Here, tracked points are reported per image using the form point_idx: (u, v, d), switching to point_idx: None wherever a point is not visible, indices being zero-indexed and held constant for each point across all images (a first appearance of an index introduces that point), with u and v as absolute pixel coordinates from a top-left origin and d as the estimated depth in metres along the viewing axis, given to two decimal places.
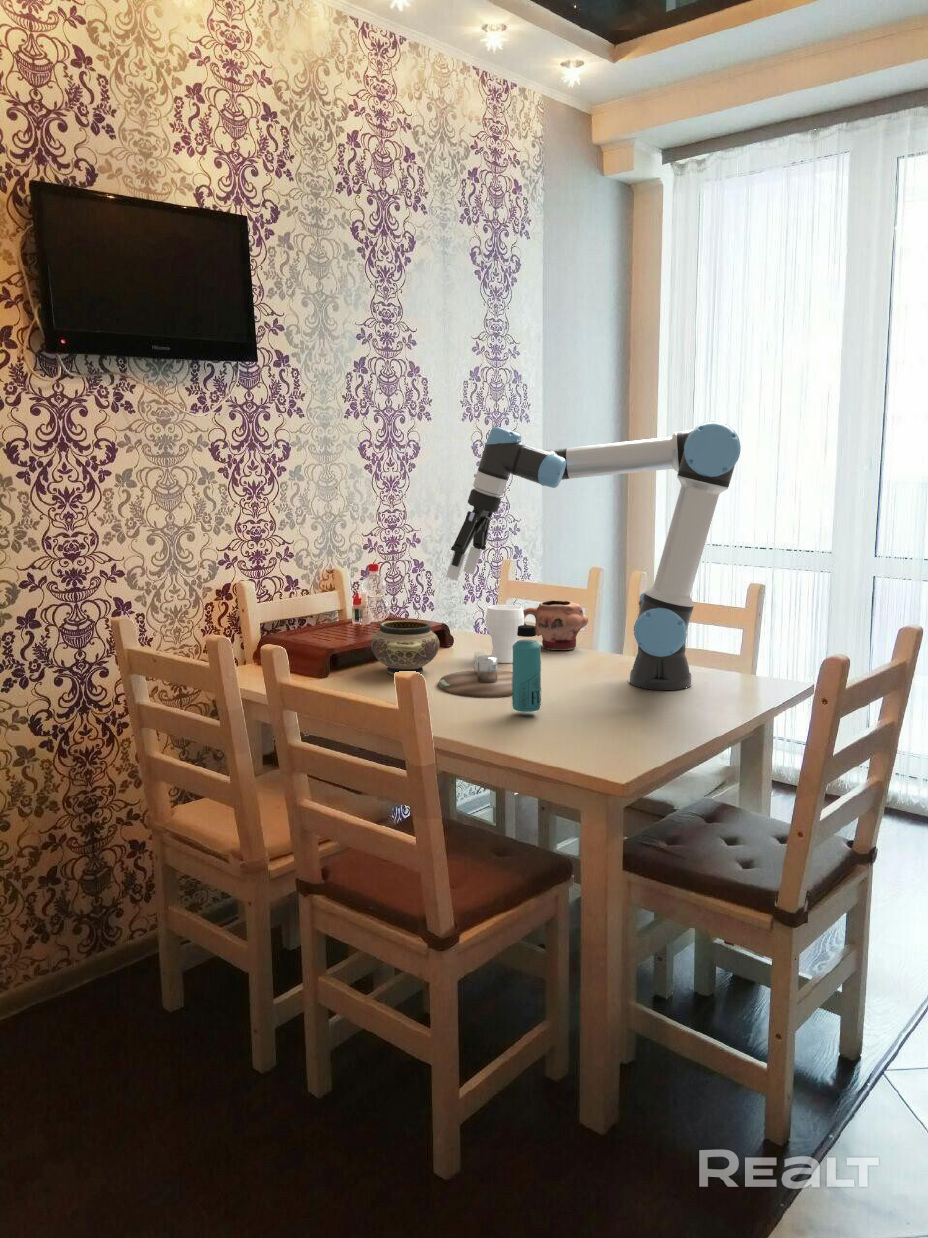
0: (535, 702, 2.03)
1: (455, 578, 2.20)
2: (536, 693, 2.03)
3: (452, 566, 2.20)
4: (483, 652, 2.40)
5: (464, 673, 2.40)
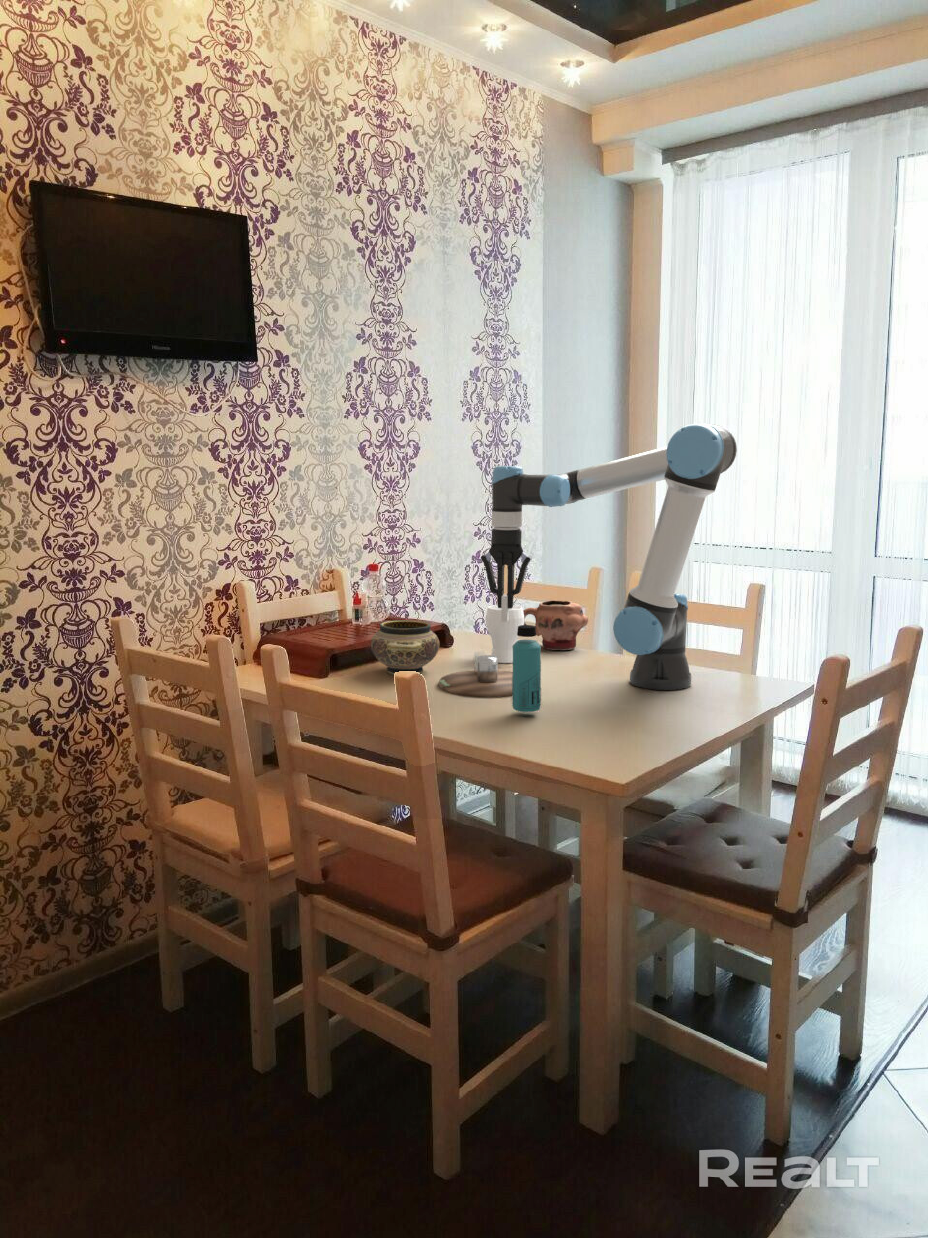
0: (535, 702, 2.03)
1: None
2: (536, 693, 2.03)
3: None
4: (483, 652, 2.40)
5: (464, 673, 2.40)
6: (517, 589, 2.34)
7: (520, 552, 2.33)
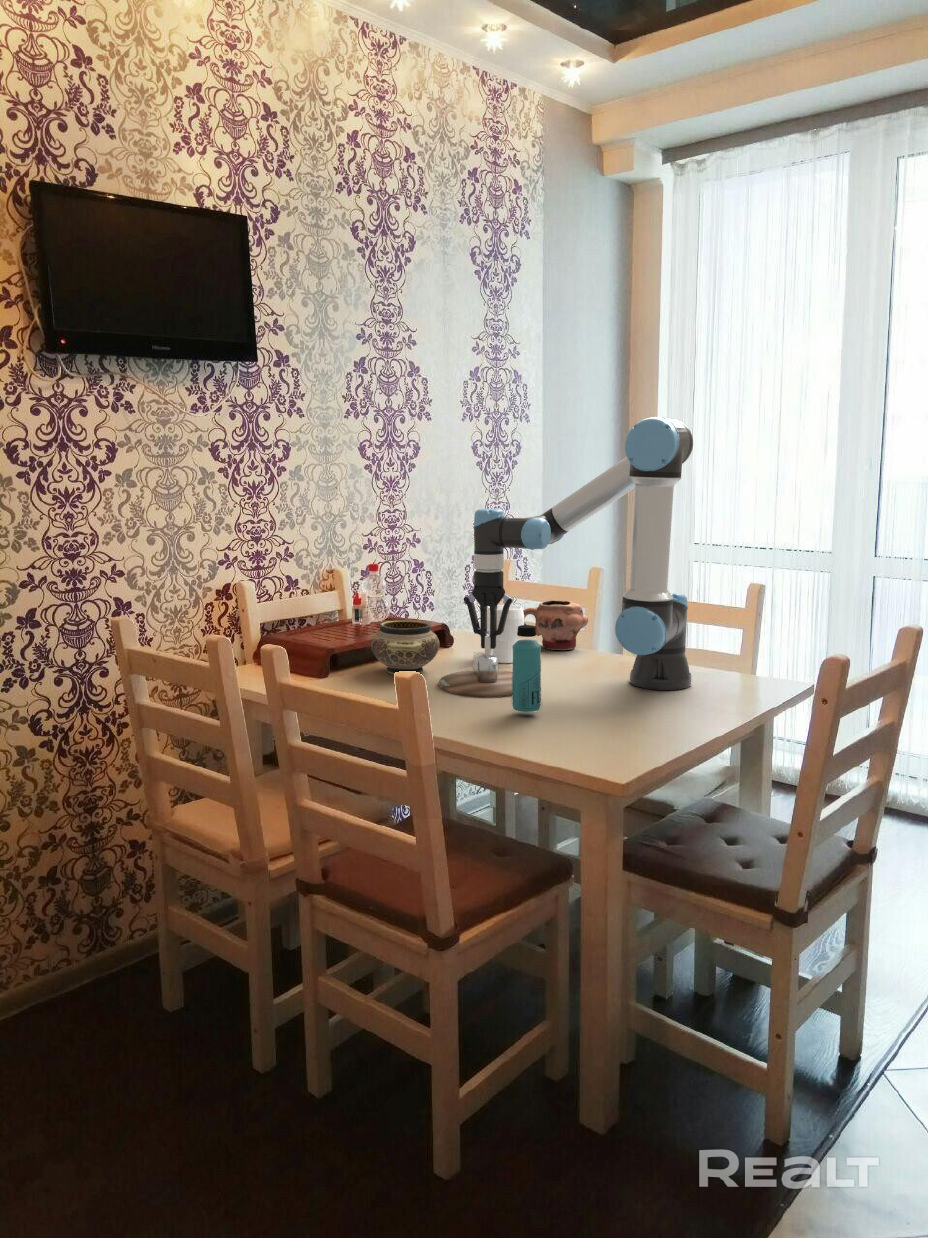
0: (535, 702, 2.03)
1: None
2: (536, 693, 2.03)
3: None
4: (482, 652, 2.40)
5: (464, 673, 2.40)
6: (499, 630, 2.37)
7: (502, 594, 2.36)
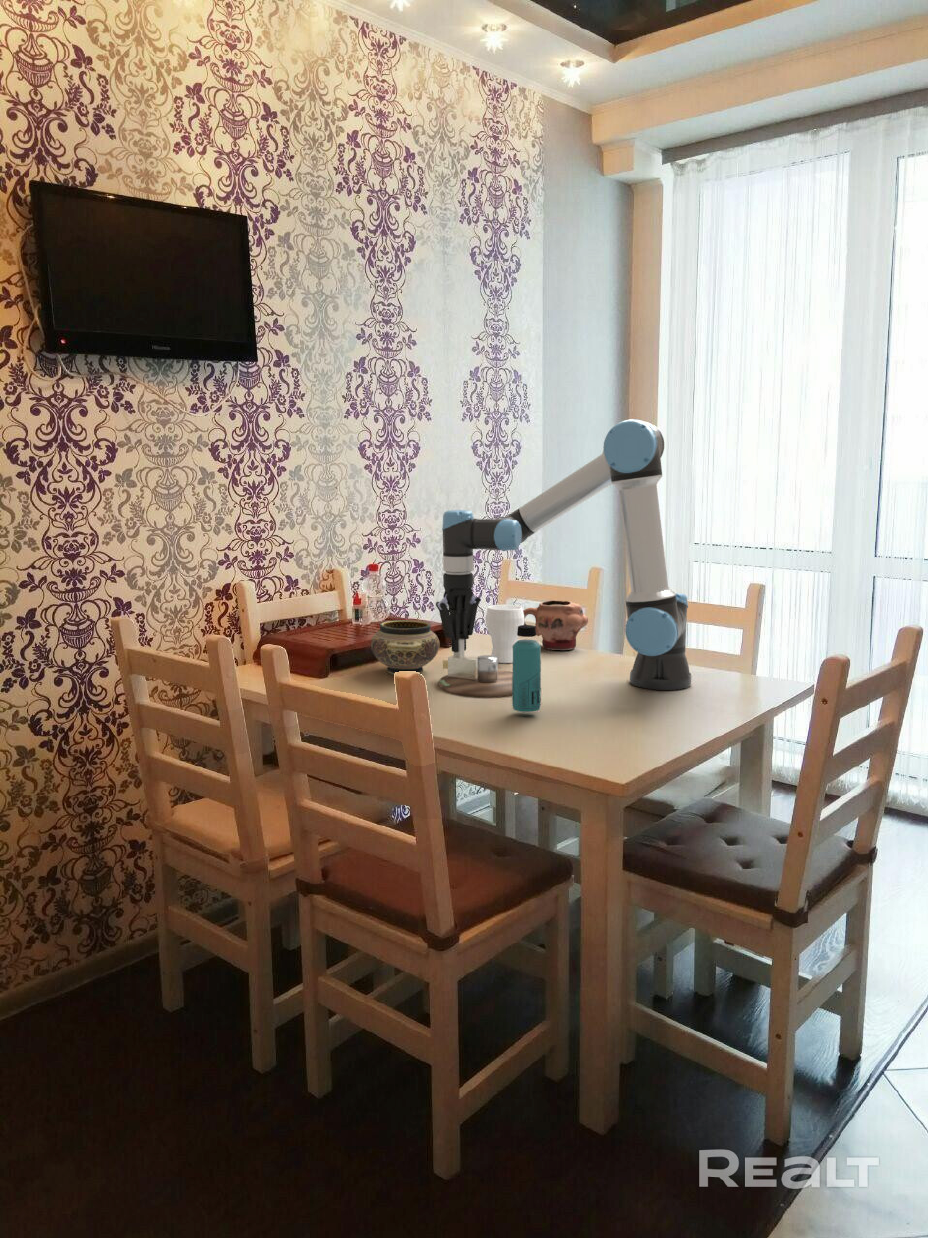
0: (535, 702, 2.03)
1: None
2: (536, 693, 2.03)
3: (455, 653, 2.37)
4: (455, 656, 2.36)
5: None
6: (471, 630, 2.37)
7: (472, 594, 2.36)
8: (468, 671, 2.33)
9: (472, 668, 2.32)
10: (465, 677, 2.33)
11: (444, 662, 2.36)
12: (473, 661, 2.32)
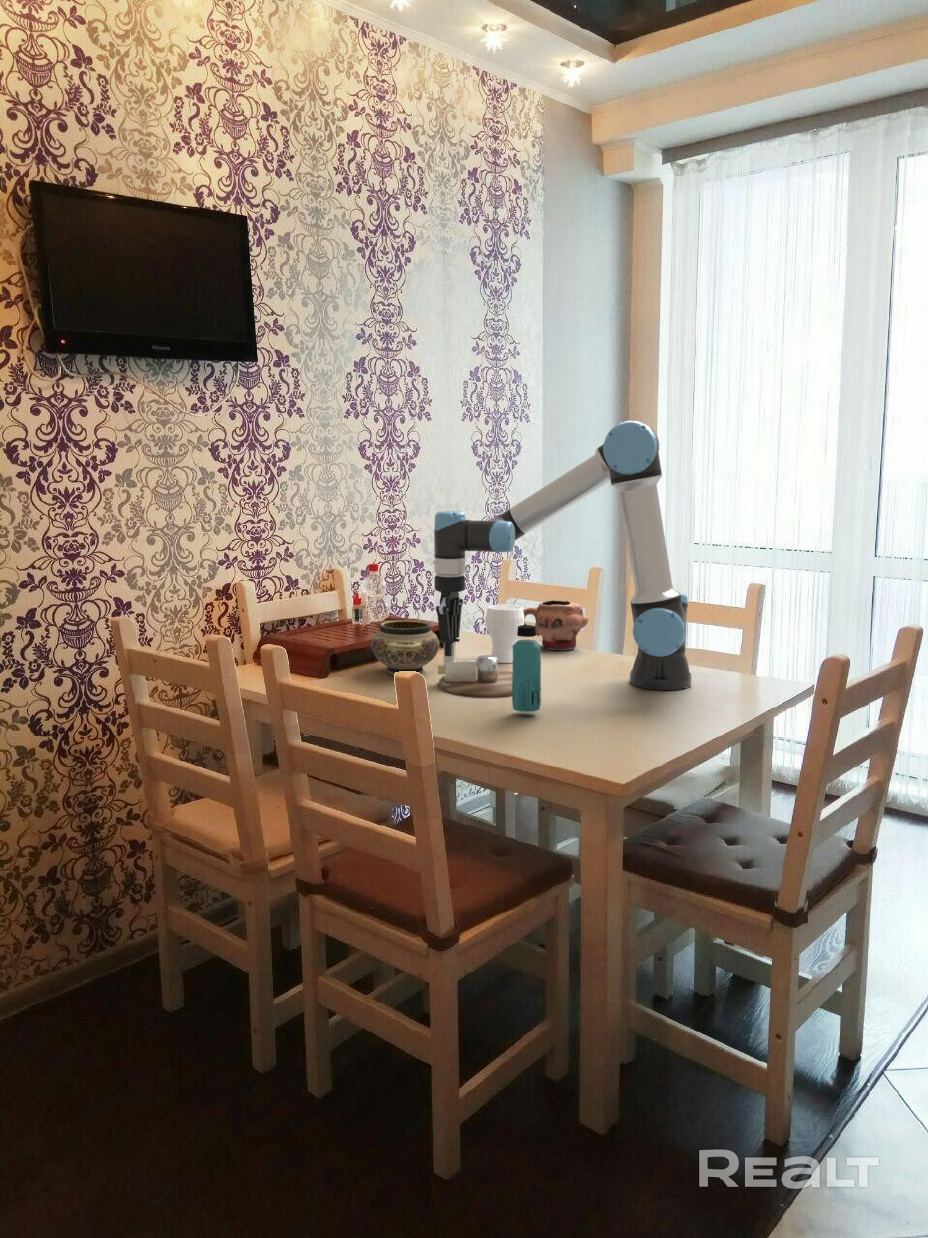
0: (535, 702, 2.03)
1: None
2: (536, 693, 2.03)
3: (446, 657, 2.32)
4: (449, 660, 2.32)
5: None
6: (458, 633, 2.34)
7: (458, 595, 2.33)
8: (469, 673, 2.30)
9: (473, 670, 2.30)
10: (465, 680, 2.30)
11: (439, 668, 2.30)
12: (474, 663, 2.30)
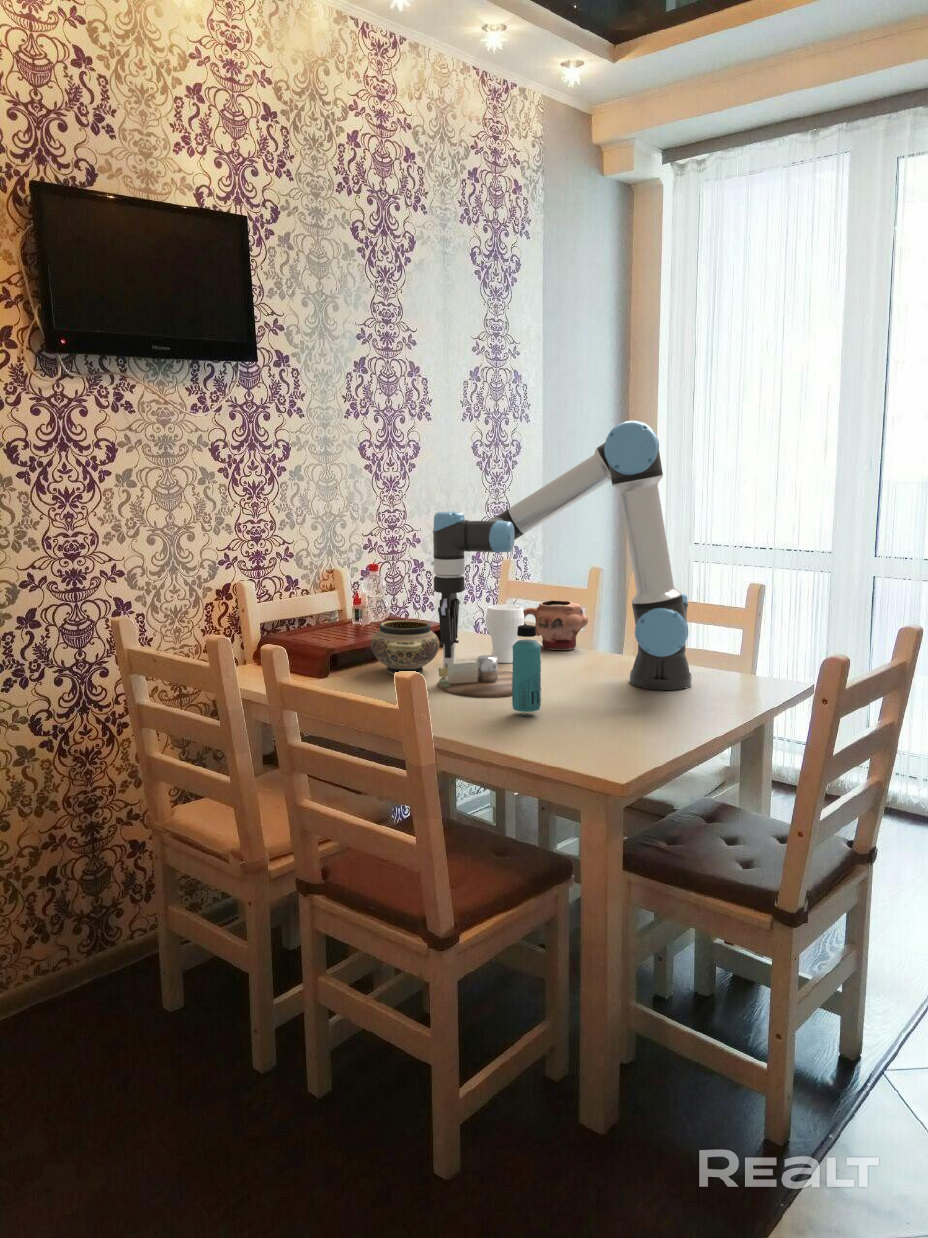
0: (535, 702, 2.03)
1: None
2: (536, 693, 2.03)
3: (446, 659, 2.30)
4: (449, 662, 2.30)
5: None
6: (456, 634, 2.33)
7: None
8: (470, 674, 2.29)
9: (474, 670, 2.29)
10: (467, 681, 2.29)
11: (441, 670, 2.28)
12: (476, 663, 2.29)
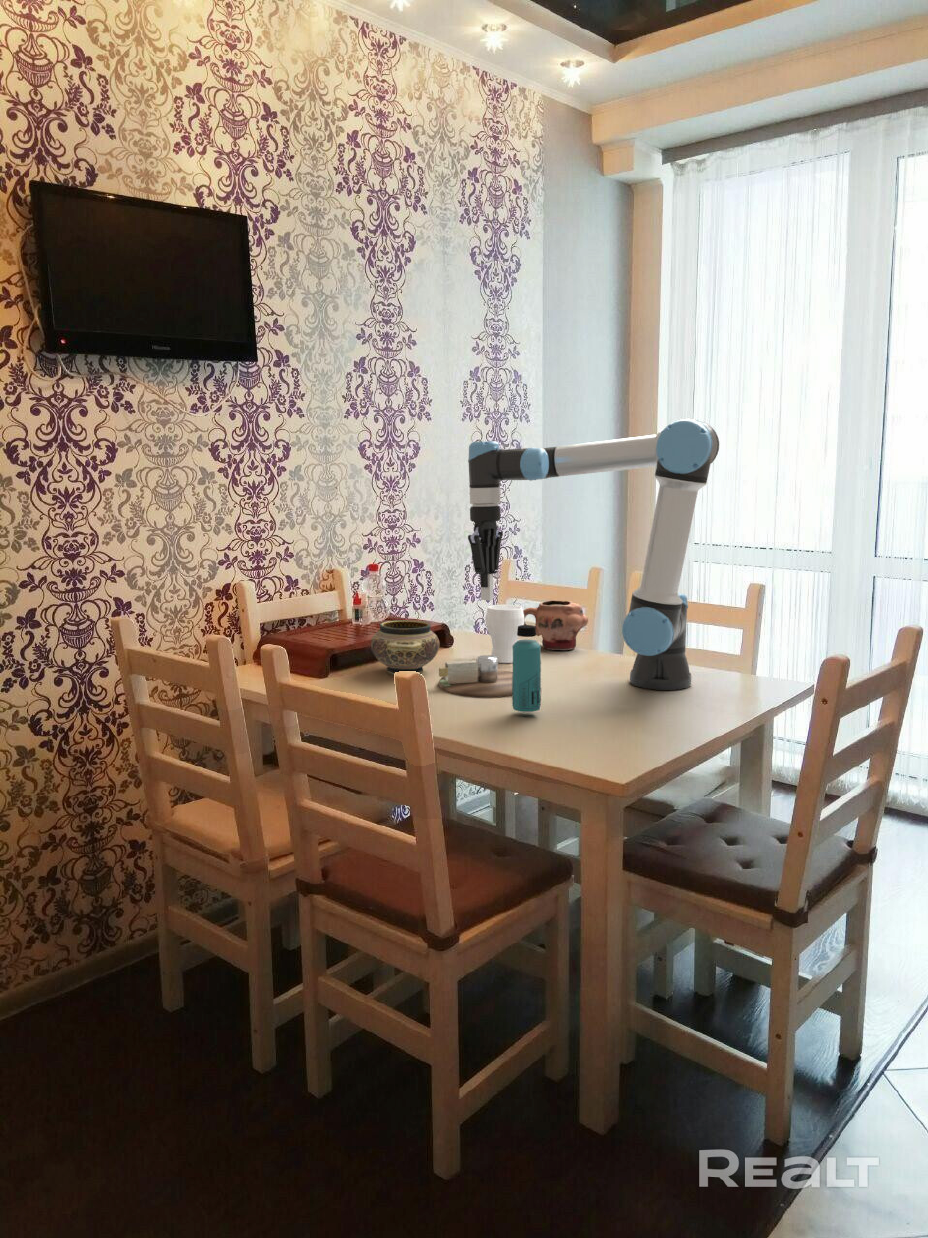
0: (535, 702, 2.03)
1: (488, 598, 2.33)
2: (536, 693, 2.03)
3: (483, 588, 2.33)
4: (449, 662, 2.30)
5: None
6: (497, 565, 2.34)
7: None
8: (470, 674, 2.29)
9: (474, 670, 2.29)
10: (467, 681, 2.29)
11: (441, 670, 2.28)
12: (476, 663, 2.29)
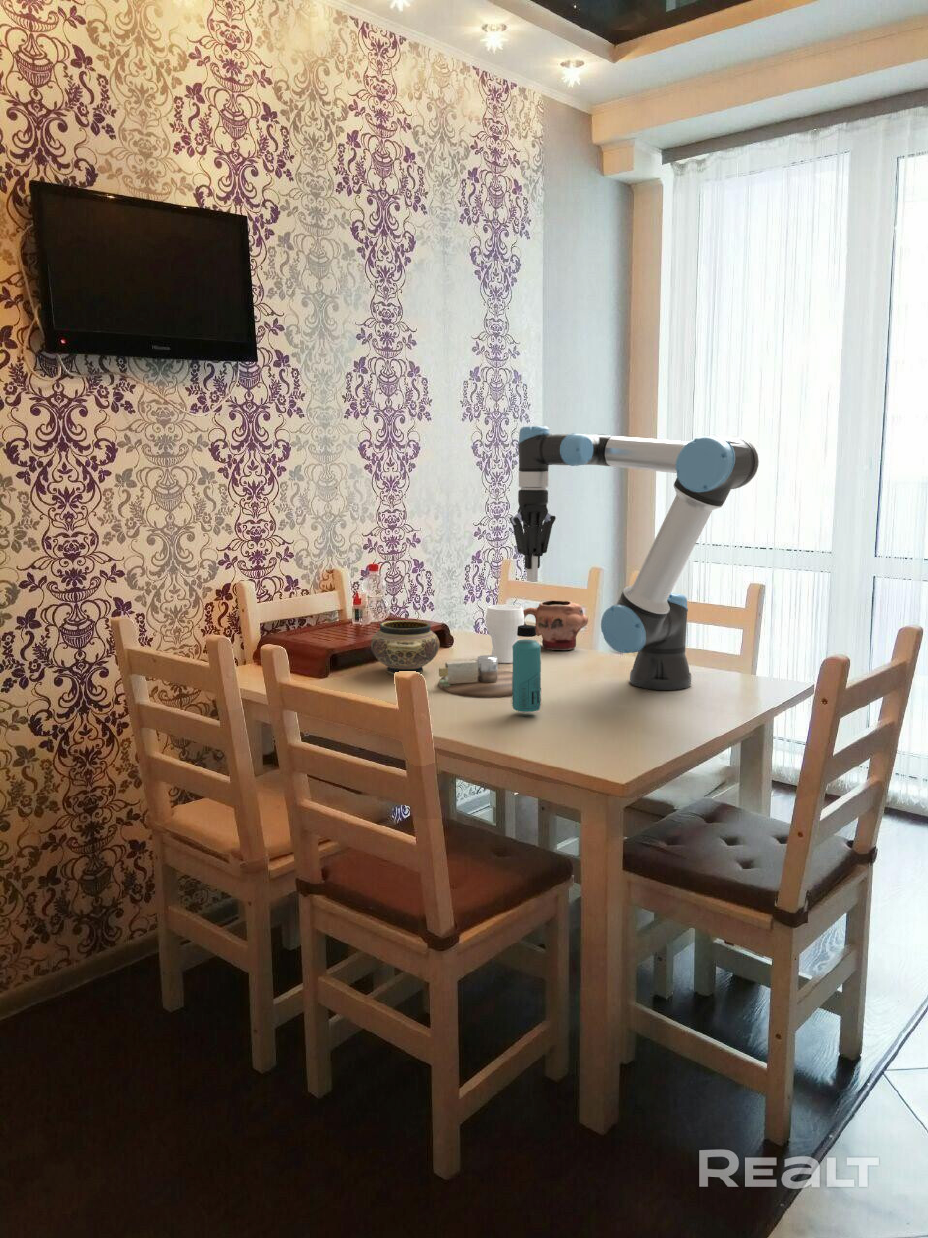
0: (535, 702, 2.03)
1: (531, 580, 2.38)
2: (536, 693, 2.03)
3: (528, 570, 2.39)
4: (449, 662, 2.30)
5: None
6: (545, 548, 2.39)
7: (547, 511, 2.37)
8: (470, 674, 2.29)
9: (474, 670, 2.29)
10: (467, 681, 2.29)
11: (441, 670, 2.28)
12: (476, 663, 2.29)
